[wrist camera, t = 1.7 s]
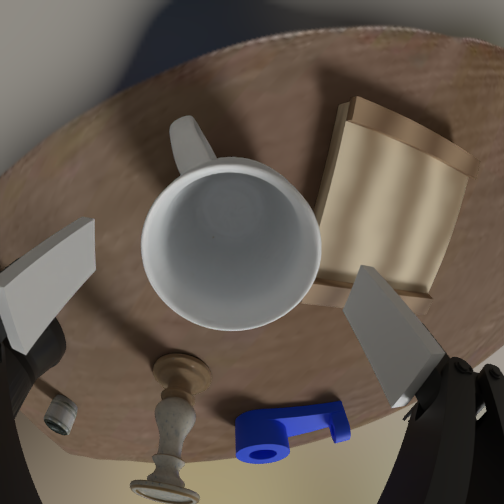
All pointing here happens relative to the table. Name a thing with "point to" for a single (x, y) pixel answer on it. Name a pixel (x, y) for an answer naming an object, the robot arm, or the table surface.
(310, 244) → the mug
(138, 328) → the table surface
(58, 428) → the camera lens
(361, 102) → the wooden tray
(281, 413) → the bracket
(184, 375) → the candle holder
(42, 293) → the robot arm
